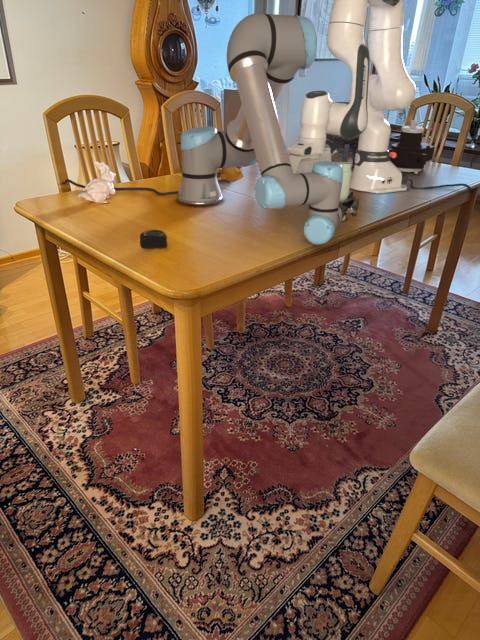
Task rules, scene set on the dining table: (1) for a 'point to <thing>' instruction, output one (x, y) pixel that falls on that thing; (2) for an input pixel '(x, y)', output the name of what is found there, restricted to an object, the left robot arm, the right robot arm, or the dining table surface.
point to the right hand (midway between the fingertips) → (307, 189)
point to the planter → (343, 144)
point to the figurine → (99, 185)
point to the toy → (230, 173)
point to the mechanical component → (411, 149)
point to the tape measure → (153, 239)
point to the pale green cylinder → (345, 181)
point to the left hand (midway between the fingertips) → (343, 195)
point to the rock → (341, 150)
